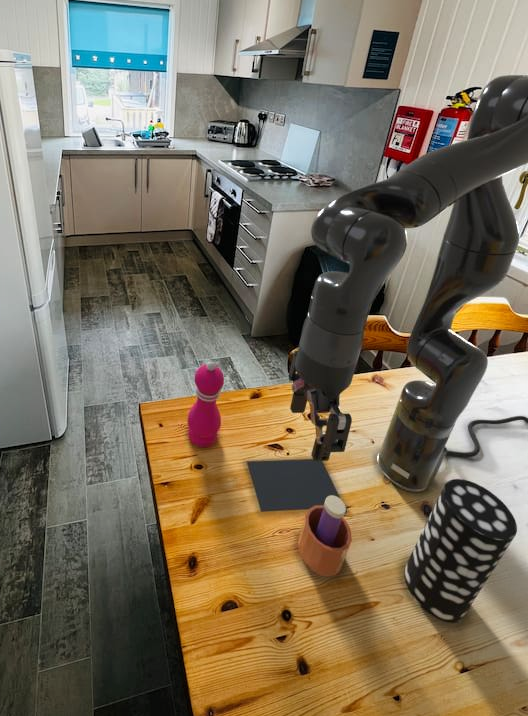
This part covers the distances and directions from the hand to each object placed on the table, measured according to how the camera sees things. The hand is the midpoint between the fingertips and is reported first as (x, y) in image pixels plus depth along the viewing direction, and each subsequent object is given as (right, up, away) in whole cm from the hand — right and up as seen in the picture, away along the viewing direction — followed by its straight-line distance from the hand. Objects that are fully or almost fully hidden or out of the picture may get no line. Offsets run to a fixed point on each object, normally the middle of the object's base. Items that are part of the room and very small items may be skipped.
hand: (307, 433), depth 60 cm
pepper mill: (-14, -14, +27) cm, 33 cm away
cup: (+4, -23, +6) cm, 24 cm away
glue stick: (+4, -23, +6) cm, 24 cm away
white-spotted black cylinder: (+21, -26, +2) cm, 33 cm away
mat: (+3, -19, +17) cm, 25 cm away
